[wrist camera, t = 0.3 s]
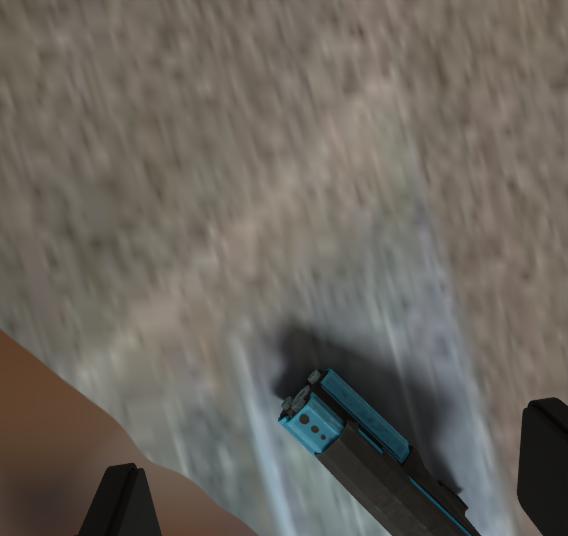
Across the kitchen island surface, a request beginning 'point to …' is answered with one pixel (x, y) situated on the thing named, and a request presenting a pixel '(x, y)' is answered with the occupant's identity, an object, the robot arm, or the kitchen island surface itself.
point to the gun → (372, 460)
